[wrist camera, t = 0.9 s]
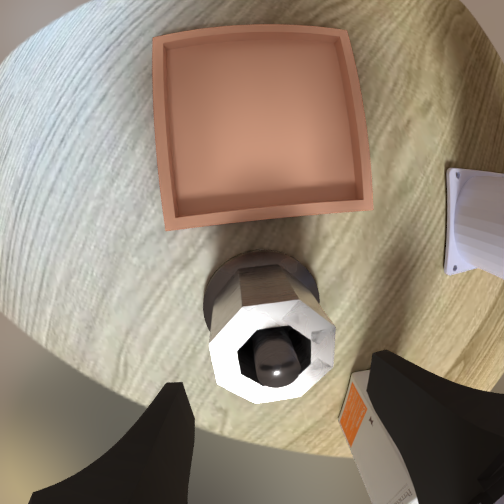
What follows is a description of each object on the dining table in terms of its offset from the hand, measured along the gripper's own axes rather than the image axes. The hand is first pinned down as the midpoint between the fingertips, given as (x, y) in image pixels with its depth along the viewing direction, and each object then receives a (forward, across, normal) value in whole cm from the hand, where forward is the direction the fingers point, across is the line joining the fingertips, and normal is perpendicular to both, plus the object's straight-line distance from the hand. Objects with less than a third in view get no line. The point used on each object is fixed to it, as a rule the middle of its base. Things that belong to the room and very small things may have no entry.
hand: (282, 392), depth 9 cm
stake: (+8, 0, 0) cm, 8 cm away
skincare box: (+8, -8, +10) cm, 15 cm away
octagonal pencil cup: (+7, 0, 0) cm, 7 cm away
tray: (+8, -1, -11) cm, 13 cm away
